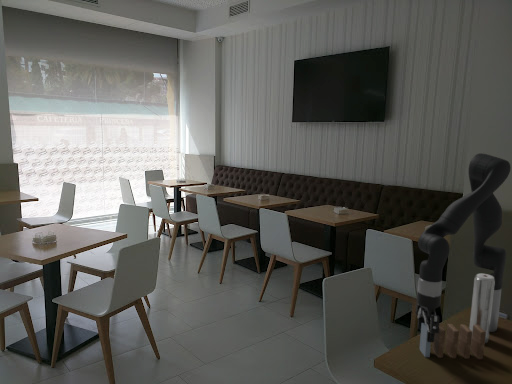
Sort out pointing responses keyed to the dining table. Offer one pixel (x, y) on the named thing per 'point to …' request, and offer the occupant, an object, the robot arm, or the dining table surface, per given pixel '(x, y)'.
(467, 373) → the dining table surface
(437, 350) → the walnut domino
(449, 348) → the walnut domino
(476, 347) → the walnut domino
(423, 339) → the slate domino
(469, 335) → the walnut domino
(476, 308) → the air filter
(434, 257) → the robot arm
